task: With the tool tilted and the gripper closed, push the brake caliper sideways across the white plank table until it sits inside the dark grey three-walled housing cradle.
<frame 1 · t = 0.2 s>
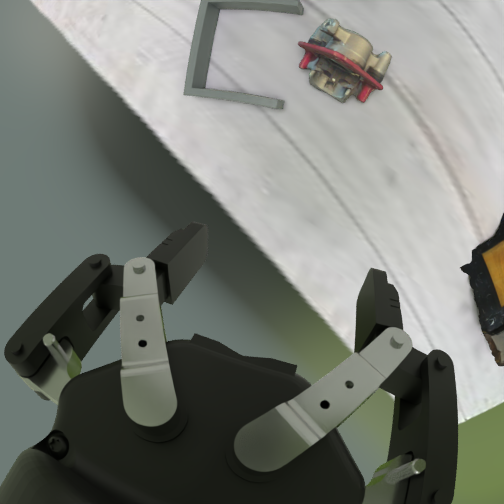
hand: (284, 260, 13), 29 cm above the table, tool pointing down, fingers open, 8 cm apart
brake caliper: (342, 67, 29), on the table
housing cradle: (250, 50, 31), on the table
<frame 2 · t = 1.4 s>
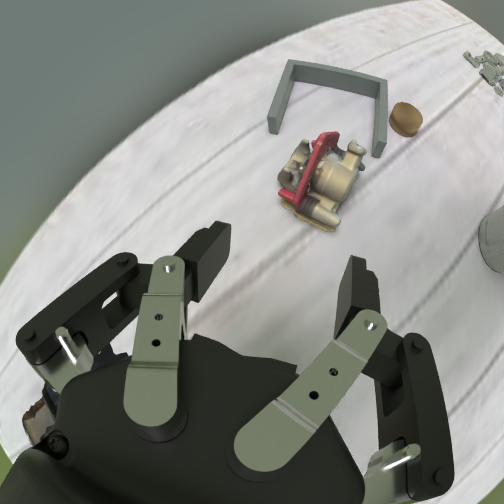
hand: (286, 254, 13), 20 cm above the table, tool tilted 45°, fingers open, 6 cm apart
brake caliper: (318, 187, 36), on the table
tan rounded lump: (403, 125, 36), on the table
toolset: (111, 456, 31), on the table
housing cradle: (330, 113, 38), on the table
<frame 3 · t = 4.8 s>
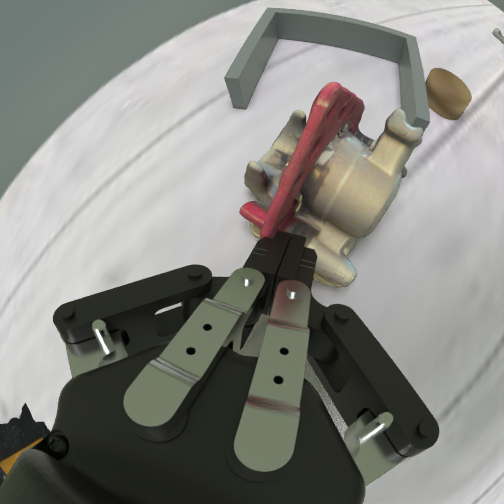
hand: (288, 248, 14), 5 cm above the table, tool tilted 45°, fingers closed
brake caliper: (319, 201, 20), on the table, touching gripper
tan rounded lump: (441, 102, 20), on the table
housing cradle: (333, 78, 22), on the table
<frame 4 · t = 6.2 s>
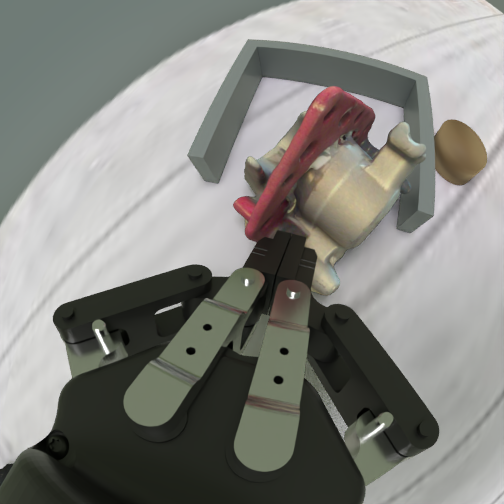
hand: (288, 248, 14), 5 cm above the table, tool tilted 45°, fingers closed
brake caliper: (317, 205, 20), on the table, touching gripper
tan rounded lump: (450, 160, 19), on the table
housing cradle: (323, 136, 21), on the table
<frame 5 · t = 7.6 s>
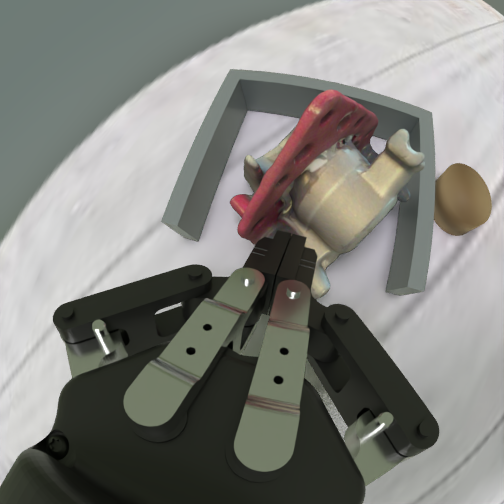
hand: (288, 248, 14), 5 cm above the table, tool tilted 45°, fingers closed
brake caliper: (315, 207, 20), on the table, touching gripper
tan rounded lump: (451, 206, 18), on the table
housing cradle: (311, 185, 20), on the table
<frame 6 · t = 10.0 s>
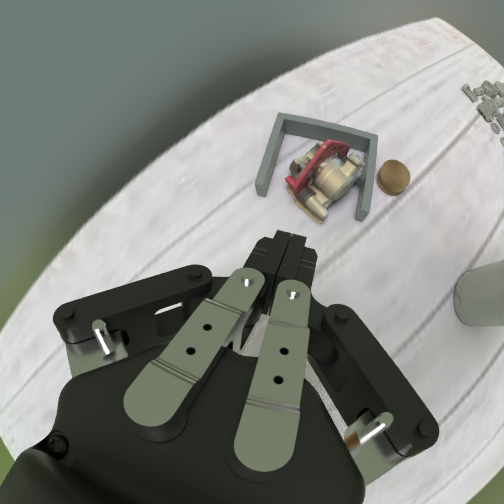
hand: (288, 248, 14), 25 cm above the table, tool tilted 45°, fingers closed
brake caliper: (321, 184, 41), on the table
tan rounded lump: (390, 181, 40), on the table
housing cradle: (318, 172, 42), on the table
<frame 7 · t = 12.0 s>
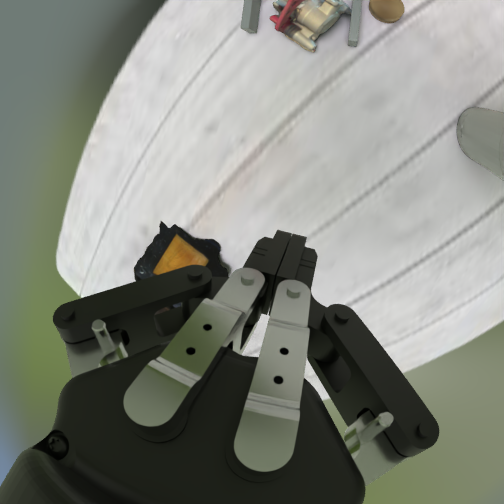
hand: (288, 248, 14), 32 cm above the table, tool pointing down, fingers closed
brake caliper: (310, 16, 29), on the table
tan rounded lump: (384, 9, 24), on the table
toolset: (192, 297, 68), on the table
housing cradle: (305, 4, 28), on the table
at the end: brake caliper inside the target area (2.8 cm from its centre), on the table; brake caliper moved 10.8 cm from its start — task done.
